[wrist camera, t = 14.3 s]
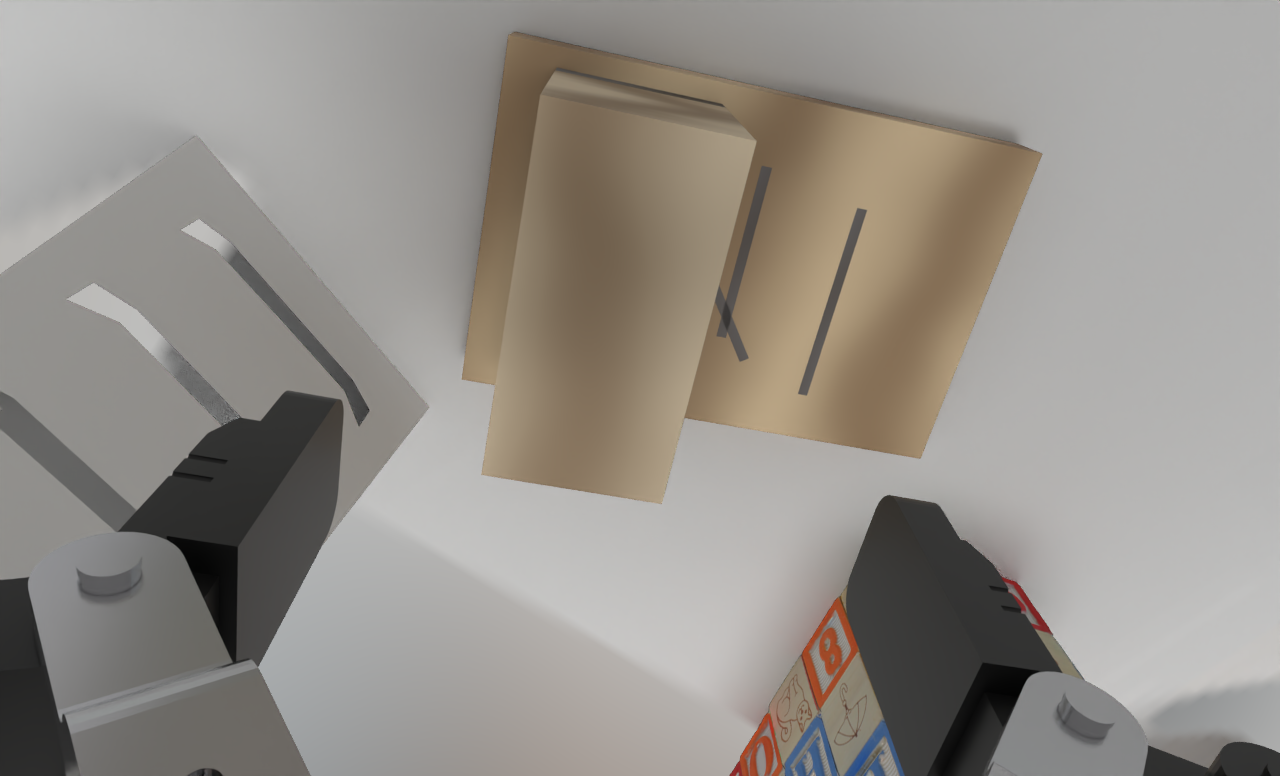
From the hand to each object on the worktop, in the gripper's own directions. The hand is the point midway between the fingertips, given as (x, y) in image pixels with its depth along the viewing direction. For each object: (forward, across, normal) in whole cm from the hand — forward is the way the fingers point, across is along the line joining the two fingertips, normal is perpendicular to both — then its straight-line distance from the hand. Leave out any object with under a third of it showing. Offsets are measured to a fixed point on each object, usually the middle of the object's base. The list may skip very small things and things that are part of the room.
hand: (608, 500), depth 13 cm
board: (+15, -4, 0) cm, 15 cm away
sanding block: (+13, 0, 0) cm, 13 cm away
